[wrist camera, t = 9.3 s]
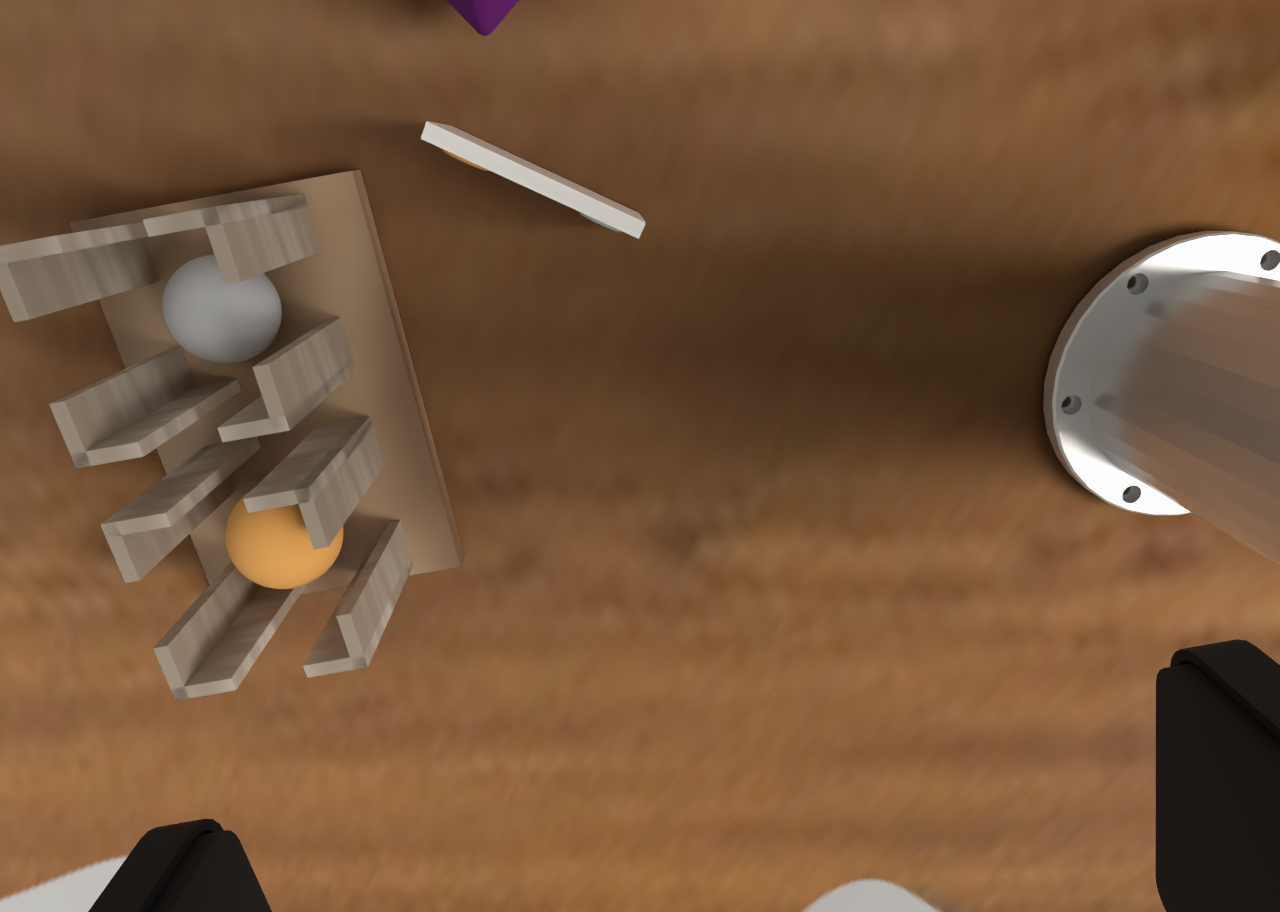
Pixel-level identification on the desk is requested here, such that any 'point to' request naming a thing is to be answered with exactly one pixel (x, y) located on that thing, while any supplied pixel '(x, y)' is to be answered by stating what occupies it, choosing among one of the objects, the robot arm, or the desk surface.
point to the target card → (533, 178)
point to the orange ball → (276, 547)
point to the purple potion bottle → (483, 13)
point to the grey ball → (220, 312)
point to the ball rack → (254, 413)
